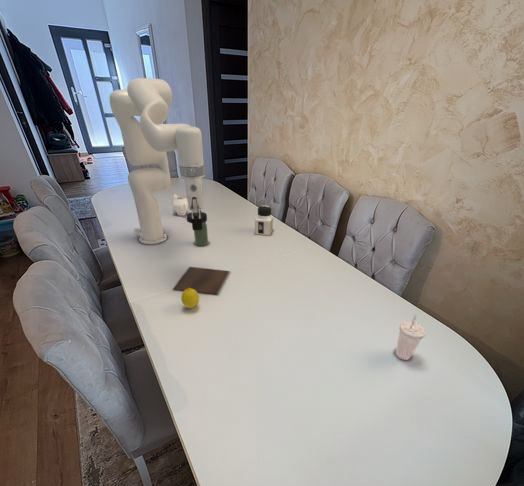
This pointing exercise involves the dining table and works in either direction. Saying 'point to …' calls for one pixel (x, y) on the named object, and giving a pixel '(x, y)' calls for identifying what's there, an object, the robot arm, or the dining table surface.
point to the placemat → (202, 280)
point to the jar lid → (202, 214)
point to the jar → (201, 236)
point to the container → (264, 221)
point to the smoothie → (409, 338)
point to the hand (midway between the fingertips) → (197, 225)
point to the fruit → (190, 298)
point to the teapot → (180, 205)
